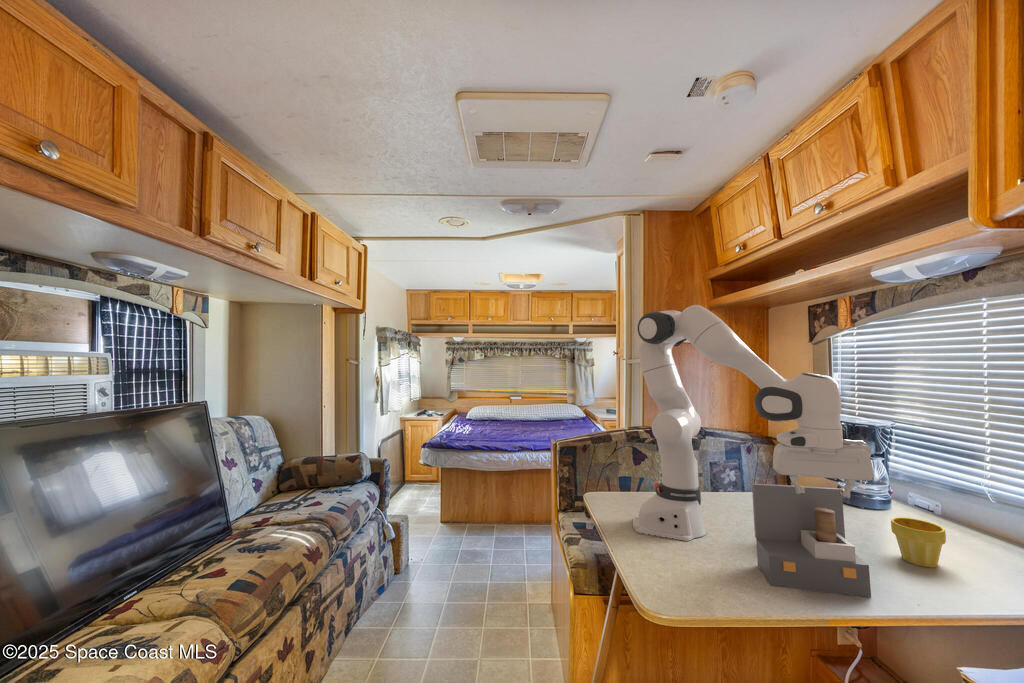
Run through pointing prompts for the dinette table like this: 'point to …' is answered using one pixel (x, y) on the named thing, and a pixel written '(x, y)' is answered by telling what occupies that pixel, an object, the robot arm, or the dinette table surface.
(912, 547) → the plant pot
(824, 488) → the case
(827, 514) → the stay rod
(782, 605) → the dinette table surface
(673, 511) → the robot arm
